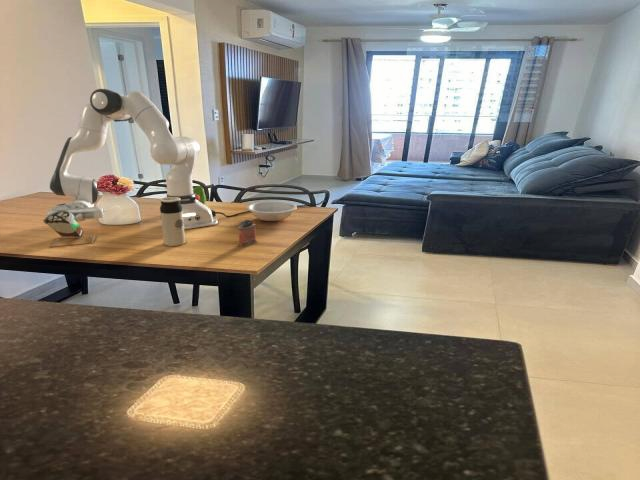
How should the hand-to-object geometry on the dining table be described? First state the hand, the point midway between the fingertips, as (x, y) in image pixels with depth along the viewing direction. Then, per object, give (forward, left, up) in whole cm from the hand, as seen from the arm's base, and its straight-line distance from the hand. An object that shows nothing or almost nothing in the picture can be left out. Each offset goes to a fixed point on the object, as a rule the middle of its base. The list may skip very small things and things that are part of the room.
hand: (73, 218), depth 154 cm
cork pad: (0, +7, -8) cm, 10 cm away
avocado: (-52, -35, -8) cm, 63 cm away
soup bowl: (-83, +1, -8) cm, 83 cm away
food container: (0, -1, -6) cm, 6 cm away
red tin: (-64, +32, -8) cm, 72 cm away
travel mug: (-37, +22, -8) cm, 44 cm away
